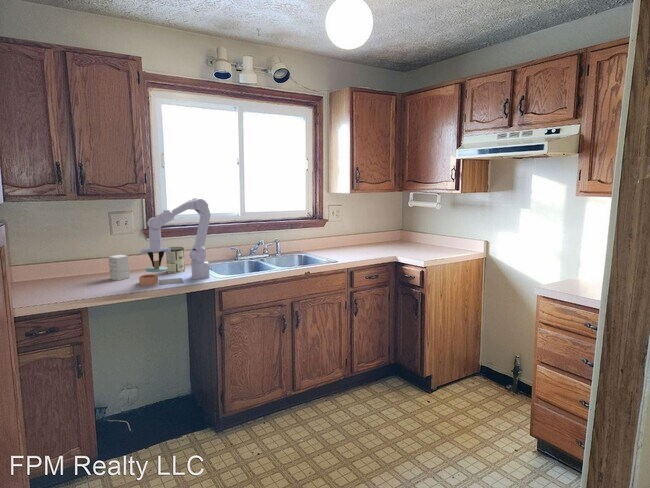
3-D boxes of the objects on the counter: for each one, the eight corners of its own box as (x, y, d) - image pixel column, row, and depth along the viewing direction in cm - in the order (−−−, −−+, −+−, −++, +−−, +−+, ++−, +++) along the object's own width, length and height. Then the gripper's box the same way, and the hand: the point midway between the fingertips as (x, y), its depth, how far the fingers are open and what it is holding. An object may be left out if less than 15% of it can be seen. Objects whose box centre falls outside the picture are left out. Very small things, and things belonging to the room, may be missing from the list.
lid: (166, 267, 231) (166, 258, 230) (168, 271, 221) (168, 262, 220) (144, 268, 226) (144, 259, 226) (145, 272, 217) (145, 263, 216)
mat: (181, 278, 235) (181, 277, 235) (184, 283, 224) (184, 282, 224) (158, 280, 230) (158, 279, 230) (159, 285, 219) (159, 285, 219)
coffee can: (171, 269, 258) (170, 246, 256) (187, 269, 257) (186, 246, 255) (163, 273, 248) (162, 249, 246) (180, 273, 247) (179, 249, 245)
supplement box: (121, 276, 239) (120, 254, 237) (130, 278, 235) (128, 255, 233) (109, 279, 233) (107, 256, 231) (117, 280, 229) (116, 257, 227)
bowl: (157, 280, 229) (157, 273, 229) (158, 284, 221) (158, 277, 221) (139, 282, 226) (138, 275, 225) (139, 286, 218) (139, 278, 217)
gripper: (140, 242, 215) (141, 268, 217) (170, 241, 221) (171, 266, 223) (140, 240, 221) (141, 265, 223) (169, 239, 227) (170, 264, 229)
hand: (156, 266), depth 223 cm, fingers closed on lid, 2 cm apart
